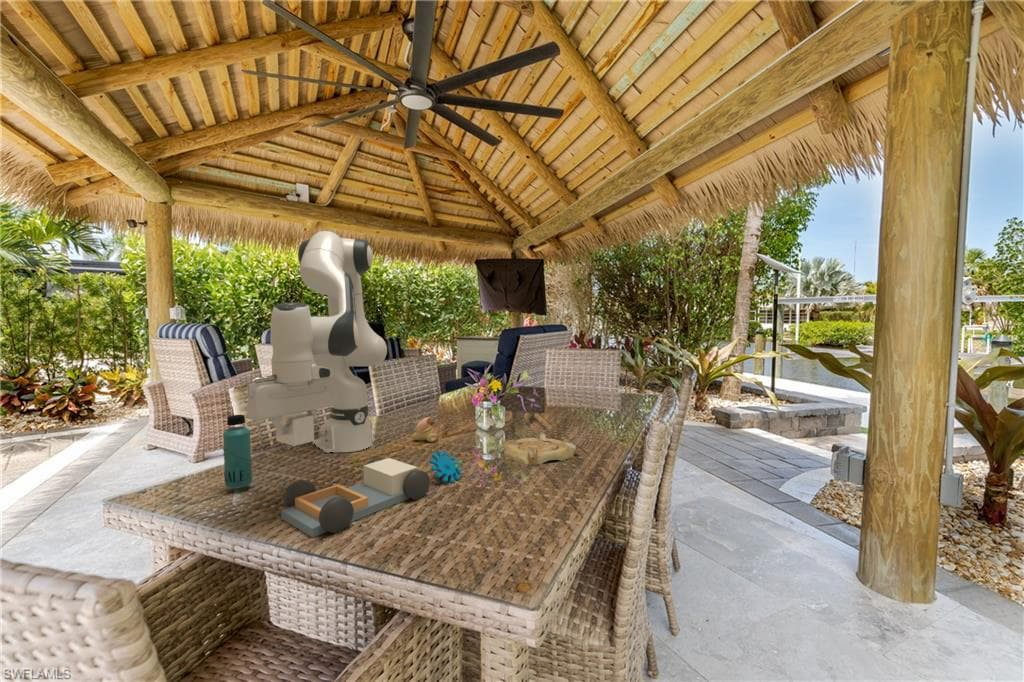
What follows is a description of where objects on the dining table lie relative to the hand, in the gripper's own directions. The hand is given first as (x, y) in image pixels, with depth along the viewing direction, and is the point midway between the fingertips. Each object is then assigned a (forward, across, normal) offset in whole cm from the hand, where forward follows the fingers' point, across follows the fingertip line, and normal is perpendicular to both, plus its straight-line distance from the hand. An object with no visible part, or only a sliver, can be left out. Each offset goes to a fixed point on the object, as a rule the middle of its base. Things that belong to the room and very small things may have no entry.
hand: (295, 431), depth 108 cm
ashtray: (+20, +70, -25) cm, 77 cm away
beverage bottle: (+20, 0, +26) cm, 33 cm away
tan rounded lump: (+19, +60, +17) cm, 66 cm away
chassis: (+19, +11, -8) cm, 24 cm away
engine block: (+2, 0, 0) cm, 2 cm away
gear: (+20, +36, -15) cm, 44 cm away
